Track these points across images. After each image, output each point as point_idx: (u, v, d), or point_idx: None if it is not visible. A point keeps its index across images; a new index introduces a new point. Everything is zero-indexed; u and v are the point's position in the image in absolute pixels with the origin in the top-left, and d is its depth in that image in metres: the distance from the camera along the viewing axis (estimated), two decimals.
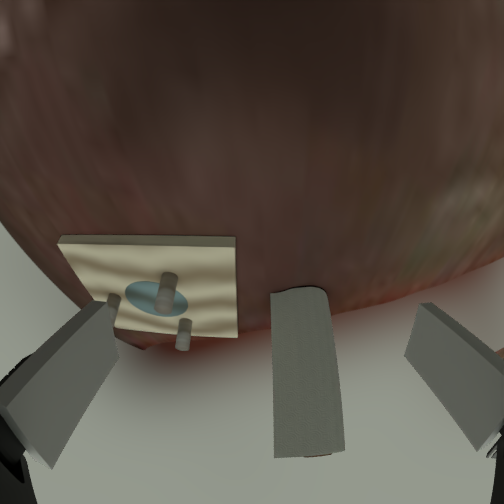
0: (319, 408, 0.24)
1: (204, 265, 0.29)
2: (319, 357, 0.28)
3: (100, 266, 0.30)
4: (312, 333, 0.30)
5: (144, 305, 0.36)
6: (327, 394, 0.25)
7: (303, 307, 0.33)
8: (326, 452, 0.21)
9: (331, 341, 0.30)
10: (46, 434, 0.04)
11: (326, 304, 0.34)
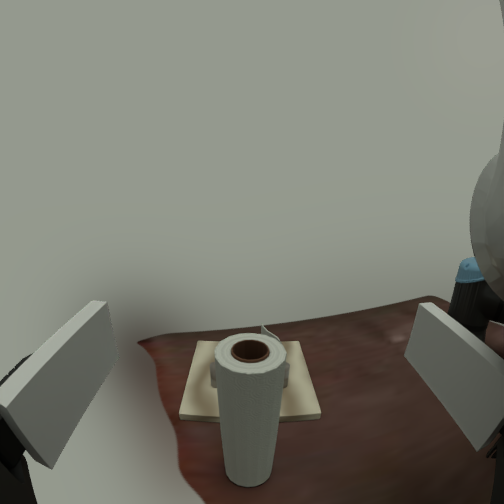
0: None
1: (299, 400, 0.39)
2: None
3: None
4: None
5: None
6: (279, 409, 0.23)
7: None
8: (286, 353, 0.22)
9: (269, 455, 0.23)
10: (46, 434, 0.04)
11: (265, 475, 0.24)
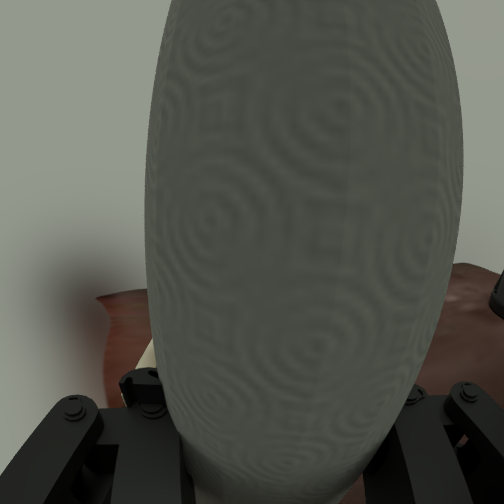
0: None
1: None
2: None
3: None
4: None
5: None
6: None
7: None
8: None
9: None
10: None
11: None
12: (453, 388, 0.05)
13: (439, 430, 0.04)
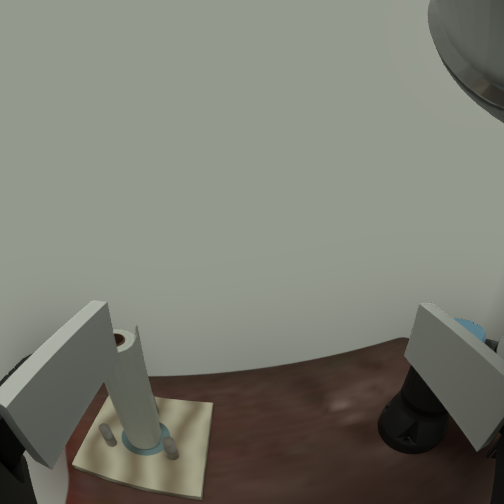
0: (140, 374, 0.32)
1: (183, 478, 0.29)
2: (148, 405, 0.33)
3: (188, 419, 0.42)
4: (152, 416, 0.34)
5: None
6: (140, 386, 0.31)
7: (157, 426, 0.36)
8: (132, 346, 0.30)
9: (141, 422, 0.32)
10: (46, 434, 0.04)
11: (148, 441, 0.33)
12: None
13: None
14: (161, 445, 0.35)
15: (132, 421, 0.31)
